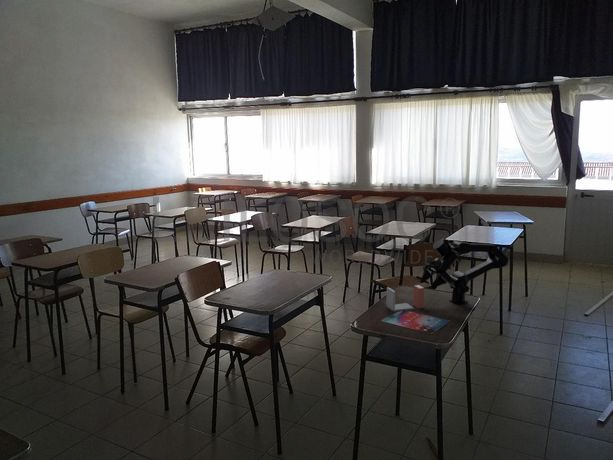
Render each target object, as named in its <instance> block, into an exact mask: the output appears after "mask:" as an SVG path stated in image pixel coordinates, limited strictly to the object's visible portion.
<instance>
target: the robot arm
mask: <svg viewBox="0 0 613 460" xmlns="http://www.w3.org/2000/svg"><path fill="white" fill-rule="evenodd" d="M432 247H433V249H434V250H435V251H436V252H437V253H438V255H439V256H441V258H439V257H436V258H433V257H431V256H427V258H426V261H425V263H424V262H423V264H422V270H423V273H422V276H421V278H420V281H419V283H420V284H423V283H425V282H427V281H428V280H429V279H430V278H432V277H433V276H434V275H436V276H435V277H436V278H435V279H434V280H433V282H432V283H431V284H430V286H429V289H431V290H432V289H435V288H436V287H440V286H441V285H445V284H448V285H449V287H450V289H451V290H452V294H451V299H449V302H451V303H454V304H456V305H462V304H466V303H468V302H469V301H468V300H466V293H469V291H470V287H469V286H468V283H469V282H470V281H472V280H474V279H475V278H478V277H479V276H481V275H483V274H486V273H487V272H489V271H491V270H494V269H501V268H504V267H506V266H507V265H508V262H509V258H508V256H506V255H505V254H504V253H503V251H501V250H500V249H499V247H498V246H497V245H496V244H493V243H471V242H470V243H469V242H464V241H462V240H453V242H451V243H450V242H449V243H448V241H447V239H446V238H443V237H442V238H441V239H439V240H436V241H435V242H434V243H433V246H432ZM475 252H476V253H487V255H488V258H487V259H486V261H484V262H482V263H479V264H478V265H475V266H474V267H472V268H470V269H468V270H466V271H463V272H462V271H460V270H457V271H455V272H453V273H451V274H449V273H448V272H447V271H448V270H449V271H451V270H452V268H451V266H452V265H453V264H454V263H455V262H456V261H459V262H462V261H461V260H462V259H461V257H462V256H461V255H465V254H469V253H475ZM459 254H460V255H459Z"/></svg>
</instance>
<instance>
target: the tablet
mask: <svg viewBox="0 0 613 460" xmlns="http://www.w3.org/2000/svg"><path fill="white" fill-rule="evenodd" d="M380 322H381V323H382V322H383V323H385V324H388V325H389V324H390V325H391V326H392V325H393V326H397V327H401V328H405V329H407V330H412V331H416V332H420V333H423V334H425V335H430V336H431V335H434V334H435V333H437V332H438V331H440V330H441V329H442V328H443V327H445V326H446V325H448V324H449V323H451V322H450V320H448V319H444V318H441V317H440V318H439V317H435V316H431V315H428V314H423V313H418V312H416V311H415V312H414V311H411V310H407V311H406V310H405V311H397V312H392V313H391V314H389V315H388V316H386V317H384V318H383V319H380Z"/></svg>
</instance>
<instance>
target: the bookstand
mask: <svg viewBox="0 0 613 460" xmlns="http://www.w3.org/2000/svg"><path fill="white" fill-rule="evenodd" d="M385 308H387V309H388V310H389V311H391V313H395V312H397V311H405V310H406V311H413V310H414V309H415V308H414V307H413V306H412V305H410V304H409V303H407V302H403V303H396V291H395V290H393V289H392V288H390V287H386V305H385Z"/></svg>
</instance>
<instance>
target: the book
mask: <svg viewBox="0 0 613 460" xmlns="http://www.w3.org/2000/svg"><path fill="white" fill-rule="evenodd" d="M412 295H413V297H412V305H413V306H414V307H416V308H417V309H423V308H425V306H424V305H425V287H424V286H422V285H420V284H416V285H413V294H412Z"/></svg>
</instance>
